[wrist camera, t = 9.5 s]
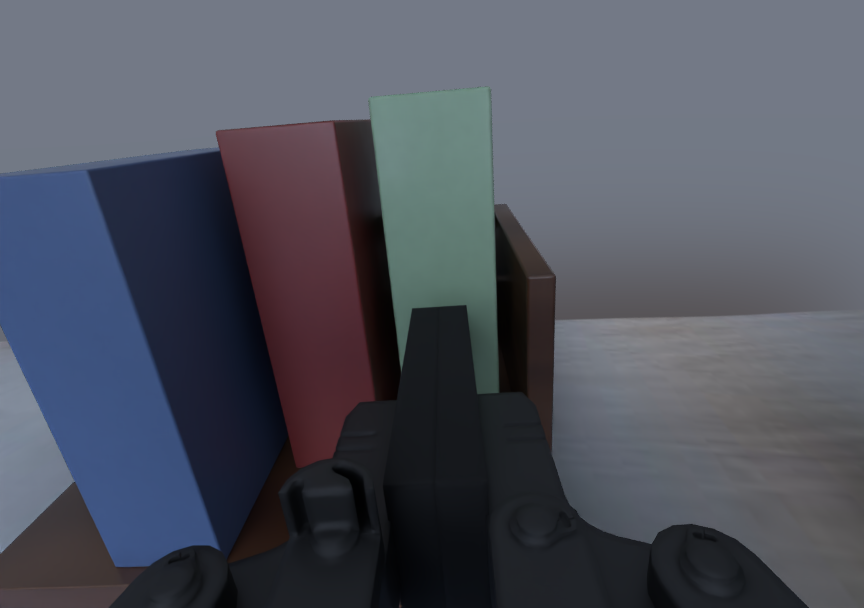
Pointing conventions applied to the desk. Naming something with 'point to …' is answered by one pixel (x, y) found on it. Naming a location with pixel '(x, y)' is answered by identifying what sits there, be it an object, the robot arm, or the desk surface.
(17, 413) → the desk surface
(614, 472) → the desk surface
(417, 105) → the sage book
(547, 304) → the book rack
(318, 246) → the shelf books
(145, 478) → the blue book
